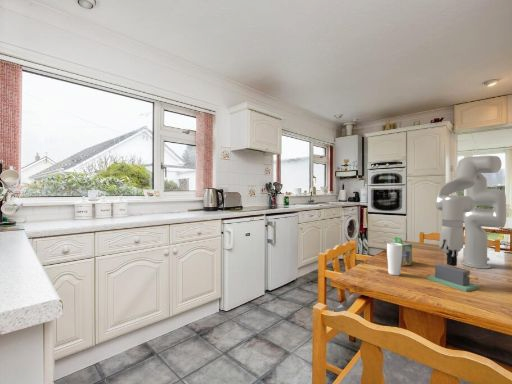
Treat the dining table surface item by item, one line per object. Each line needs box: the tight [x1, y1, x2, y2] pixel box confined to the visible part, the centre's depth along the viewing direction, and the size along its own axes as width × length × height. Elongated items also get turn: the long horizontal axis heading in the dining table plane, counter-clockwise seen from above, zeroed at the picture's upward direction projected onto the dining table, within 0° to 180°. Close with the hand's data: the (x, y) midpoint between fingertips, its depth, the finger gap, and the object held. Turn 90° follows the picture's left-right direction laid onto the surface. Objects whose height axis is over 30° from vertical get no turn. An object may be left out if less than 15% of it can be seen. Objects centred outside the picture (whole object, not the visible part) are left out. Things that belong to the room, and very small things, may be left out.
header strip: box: [426, 274, 480, 292], centre depth 116 cm, size 9×16×5 cm, turn 23°
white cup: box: [386, 242, 402, 277], centre depth 129 cm, size 7×7×15 cm
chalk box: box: [386, 236, 413, 267], centre depth 147 cm, size 9×9×15 cm
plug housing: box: [434, 263, 479, 286], centre depth 114 cm, size 5×16×6 cm, turn 23°
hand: (451, 265), depth 116 cm, fingers closed
